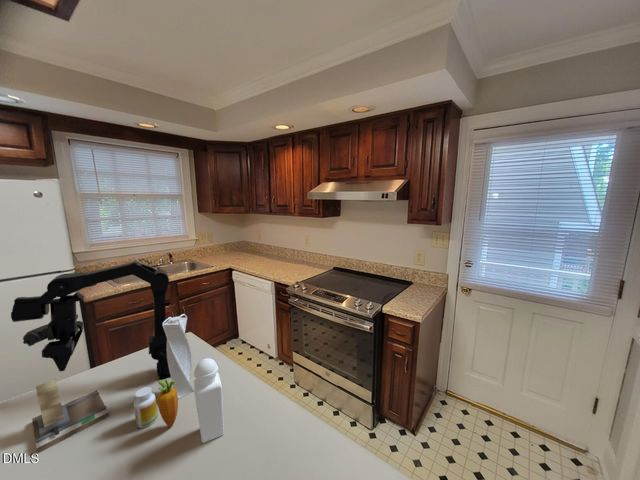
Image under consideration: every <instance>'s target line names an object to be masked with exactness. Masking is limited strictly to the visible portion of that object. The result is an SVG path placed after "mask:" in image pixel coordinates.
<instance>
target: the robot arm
mask: <svg viewBox="0 0 640 480" xmlns="http://www.w3.org/2000/svg"><path fill="white" fill-rule="evenodd" d="M128 276H135V277H137V278H139V279H140V280H142V281H144V282H146V283H148V284H149V285H150V288H151V292H152V295H153V325H154V326H153V334H152V336H151V335H150V336H148V355H150V356H151V358H152V359H153V360H155V361H157V362H156V372H157V377H159V381H160V380H162V381H163V380H166V379H168V378H171V375H170V371H169V367H168V361H167V337H166V334H165V331H164V328H163V325H162V324H163V322H164V321H165V320H166V319H167V318H166V295H167V292H168V288H169V282H170V278H169V274H168V273H167V271H165V270H164V269H163V268H162V269H160V268H159V269H158V268H157V269H156V268H154V267H153V266H150V265H146V264H143V263H141V262H139V261H137V260H135V261H133V260H132V261H130V262H127V263H123V264H118V265H114V266H111V267H106V268H102V269H96V270H92V271H88V272H71V273H63V274H59V275H57V276H55V277H54V278H53V279H52V280H51V281H50V282H49V283H47V286H46V291H45V292H44V293H42V295H40V296H39V295H38V296H29V297H28V296H20V297H16V298H15V299H14V300H13V302H14V303H13V306H12V310H11V312H10V319H11V321H12V322H14V323H19V322H26V321H35V320H42V319H44V317H45V316H47V315H49V312H50V321H49V322H48V324H45V325H42V326H38V327H36V328H34V329H31V330H29V331H27V332H26V333H25V334H24V335H23V337H22V340H23V341H22V343H23V345H27V346H28V347H32V346H34V345H35V344H38V343H40V342H42V341H44V340H46V339H47V341H48V343H47V344H45V346H44V347H43V349H42V350H41V357H42V358H45V359H52V360H53V361H54V364H55V365H56V368H57V370H58V371H59V372H60V373H61V372H64V371H66V369H67V366H68V363H69V361H70V359H71V357H72V356H73V354H74V352H75V350H76V348H77V345H78V343H79V340H80V338H81V336H82V333H83V331H84V328H85V327H84V325H85V324H84V322H83V321H81V320H78V318H79V314H77V302H82V301H83V300H84V298H85V295H83V294H81V293H79V291H81V290H83V289H84V288H86V287H87V288H88V287H90V286H92V285H97V284H100V283H101V284H102V283H104V282H109V281H113V280H115V279H116V280H117V279H121V278H125V277H128ZM73 293H74V294H73ZM70 294H71V295H70ZM166 322H167V321H166ZM166 322H165V323H166ZM165 323H164V324H165ZM49 341H50V342H49Z"/></svg>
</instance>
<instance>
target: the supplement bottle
mask: <svg viewBox="0 0 640 480" xmlns="http://www.w3.org/2000/svg"><path fill="white" fill-rule="evenodd" d="M152 390H153V389H152V387H150V386H145V387H143V388H140V389H139V390H137V391H136V392H135V393H134V395H135V396H134V397H135V400H134V402H133V410H134V416H135V417H134V418H135V424H136V426H137V428H139V429H144V428H147V427H150V426H151V425H153V424H155V423H156V421H157V420H158V418H159V413H158V404H157V397H156V395H155V393H153V391H152Z"/></svg>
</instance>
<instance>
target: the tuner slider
mask: <svg viewBox="0 0 640 480" xmlns="http://www.w3.org/2000/svg"><path fill="white" fill-rule="evenodd" d="M35 391H36V395H37V399H38V404H39V405H38V406H39V408H40V415H42V417H40V418H38V419H37V420H38V426H39V432H40V437H42V436H44V435H46V434H48V433H50V432H52V431H54V432H55V436H56V435H58V434H59V430H58V428H61V427H63V426H65V425H67V424H69V423H71V422H70V418H69V415H68V412H67V409H66V406H65V407H62V405H63V404H62V401H61V396H60V391H59V387H58V383H57V380H56V379H53V380H50V381H48V382H44V383H41V384H40V385H36V386H35Z"/></svg>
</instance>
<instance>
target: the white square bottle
mask: <svg viewBox="0 0 640 480" xmlns="http://www.w3.org/2000/svg"><path fill="white" fill-rule="evenodd" d="M194 369H195V370H194V372H193V376H194V378H195V379H194V380H193V385H194V386H193V388H194V396H195V404H196V410H197V417H198V425H199V431H200V439H201V443H202V444H204V443H207V442H209V441H212V440H214V439H216V438H219V437H221V436H224V435H225V429H224V428H225V425H224V408H223V406H224V405H223V404H224V403H223V402H224V401H223V387H222V385H223V384H222V383H221V376H220V373H219V372H218V371H219V366H218V364H217V362H216V361H215V360H214V359H213V358H209V357H207V358H203V359H201V360H200V361H198V363H197V364H196V366H195V368H194Z"/></svg>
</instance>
